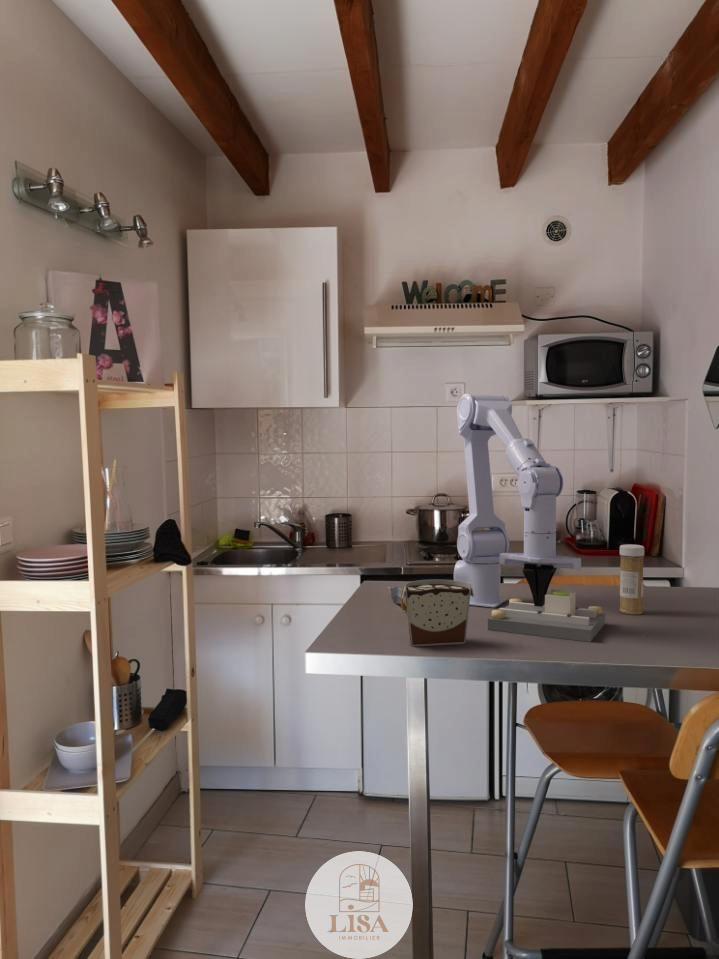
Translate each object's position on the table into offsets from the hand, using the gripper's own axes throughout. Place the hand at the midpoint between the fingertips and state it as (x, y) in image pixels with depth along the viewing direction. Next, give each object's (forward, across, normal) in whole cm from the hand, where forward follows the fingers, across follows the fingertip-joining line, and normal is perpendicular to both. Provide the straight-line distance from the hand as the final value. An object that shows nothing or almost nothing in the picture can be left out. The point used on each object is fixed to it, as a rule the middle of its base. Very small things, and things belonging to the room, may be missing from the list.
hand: (539, 605), depth 132 cm
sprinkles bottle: (+4, +14, +19) cm, 24 cm away
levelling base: (+4, +2, 0) cm, 4 cm away
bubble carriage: (+2, +4, 0) cm, 4 cm away
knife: (+4, -28, 0) cm, 28 cm away
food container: (+4, -14, -18) cm, 23 cm away
